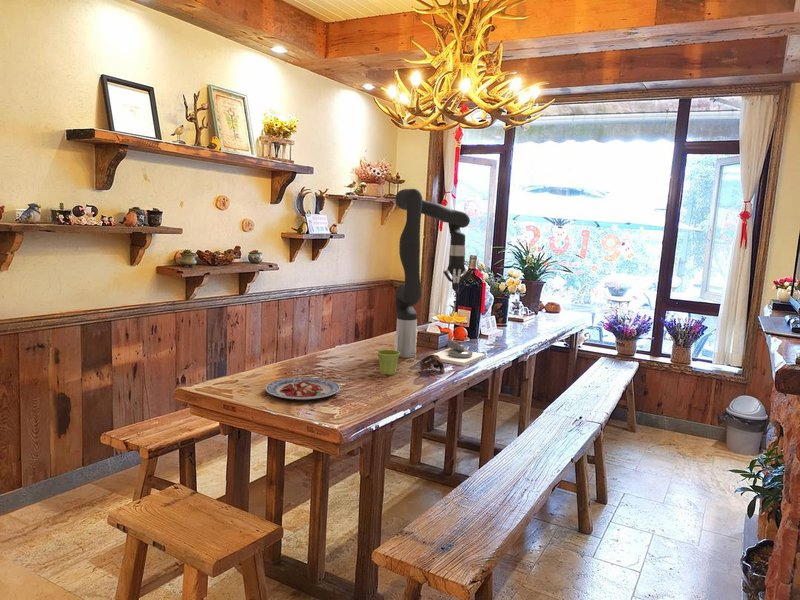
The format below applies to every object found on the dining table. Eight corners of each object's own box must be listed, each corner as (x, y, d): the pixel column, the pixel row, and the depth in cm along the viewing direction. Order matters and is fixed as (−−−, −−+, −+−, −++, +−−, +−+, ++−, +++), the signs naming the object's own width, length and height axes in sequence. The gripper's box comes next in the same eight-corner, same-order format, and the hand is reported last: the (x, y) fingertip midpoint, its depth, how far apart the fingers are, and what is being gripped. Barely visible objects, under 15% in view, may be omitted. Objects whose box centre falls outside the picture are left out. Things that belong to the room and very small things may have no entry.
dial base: (463, 366, 254) (464, 355, 253) (427, 359, 263) (427, 349, 263) (485, 357, 272) (485, 347, 271) (450, 351, 282) (450, 342, 281)
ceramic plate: (251, 391, 206) (251, 382, 206) (311, 379, 224) (311, 371, 224) (293, 409, 188) (293, 400, 187) (354, 395, 206) (354, 387, 205)
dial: (476, 357, 263) (477, 347, 263) (454, 358, 260) (454, 348, 259) (459, 348, 280) (460, 339, 279) (438, 349, 276) (438, 340, 276)
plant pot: (385, 377, 230) (386, 355, 229) (371, 372, 237) (372, 351, 236) (404, 374, 236) (404, 353, 235) (389, 369, 243) (390, 348, 242)
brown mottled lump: (444, 377, 236) (435, 360, 234) (424, 384, 240) (415, 367, 238) (449, 363, 247) (440, 346, 245) (430, 370, 250) (421, 354, 249)
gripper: (468, 254, 284) (466, 290, 286) (442, 253, 282) (440, 289, 285) (472, 255, 276) (470, 292, 279) (444, 254, 275) (443, 291, 277)
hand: (455, 290), depth 282 cm, fingers closed
